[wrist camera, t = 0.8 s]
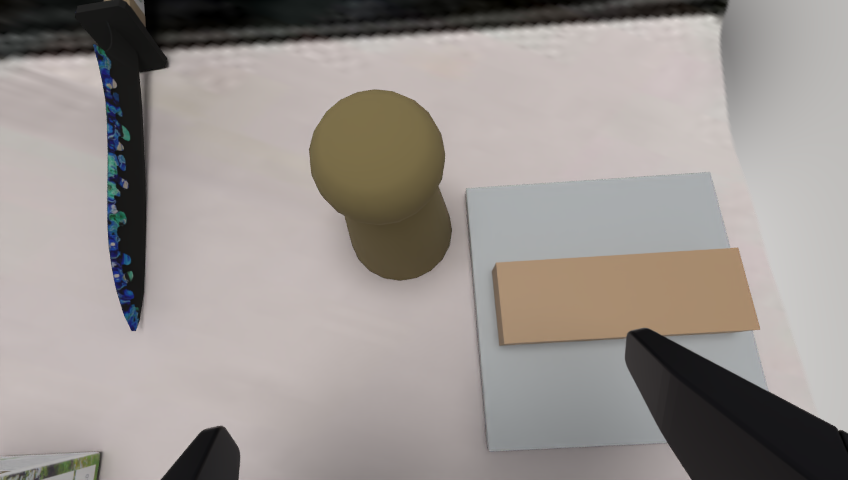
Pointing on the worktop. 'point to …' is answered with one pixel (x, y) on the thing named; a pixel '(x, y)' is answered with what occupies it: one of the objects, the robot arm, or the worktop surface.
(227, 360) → the worktop surface
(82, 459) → the syrup box
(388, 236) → the olive pepper mill
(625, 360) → the robot arm
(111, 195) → the knife
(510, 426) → the ridge board
